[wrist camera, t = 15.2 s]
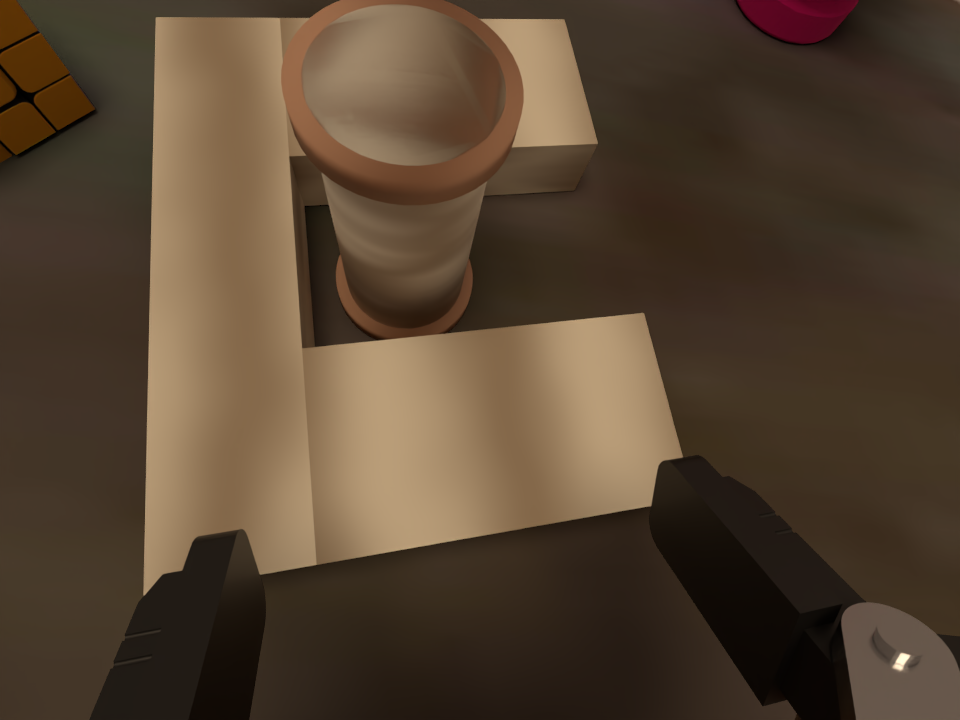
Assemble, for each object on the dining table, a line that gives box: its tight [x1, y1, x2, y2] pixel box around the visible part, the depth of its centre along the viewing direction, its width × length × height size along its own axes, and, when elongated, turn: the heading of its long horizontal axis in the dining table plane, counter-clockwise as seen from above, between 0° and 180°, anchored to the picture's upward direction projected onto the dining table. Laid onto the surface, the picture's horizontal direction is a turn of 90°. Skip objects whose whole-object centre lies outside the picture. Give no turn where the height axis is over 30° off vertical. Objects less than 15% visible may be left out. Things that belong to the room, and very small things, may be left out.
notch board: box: [144, 17, 683, 595], centre depth 19 cm, size 16×20×3 cm
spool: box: [281, 0, 524, 341], centre depth 16 cm, size 5×5×10 cm
